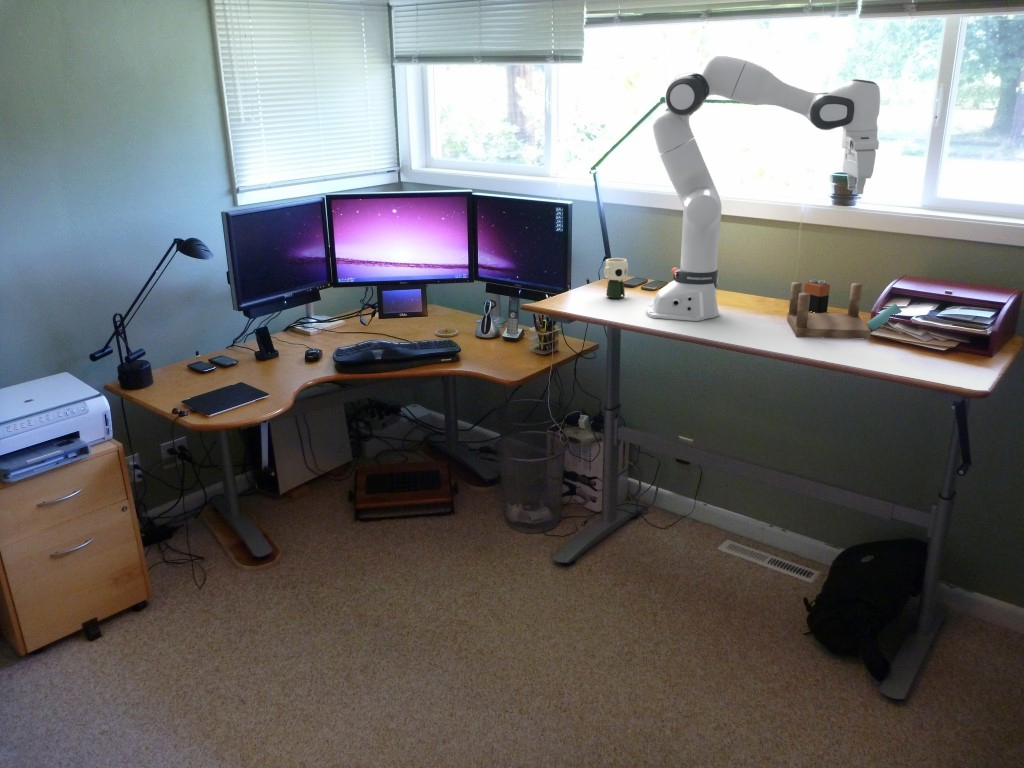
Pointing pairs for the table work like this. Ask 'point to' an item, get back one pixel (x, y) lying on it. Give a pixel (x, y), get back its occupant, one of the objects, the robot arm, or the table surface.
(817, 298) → the battery
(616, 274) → the character mug
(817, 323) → the stool
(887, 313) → the folding leg
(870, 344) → the table surface
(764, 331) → the table surface
